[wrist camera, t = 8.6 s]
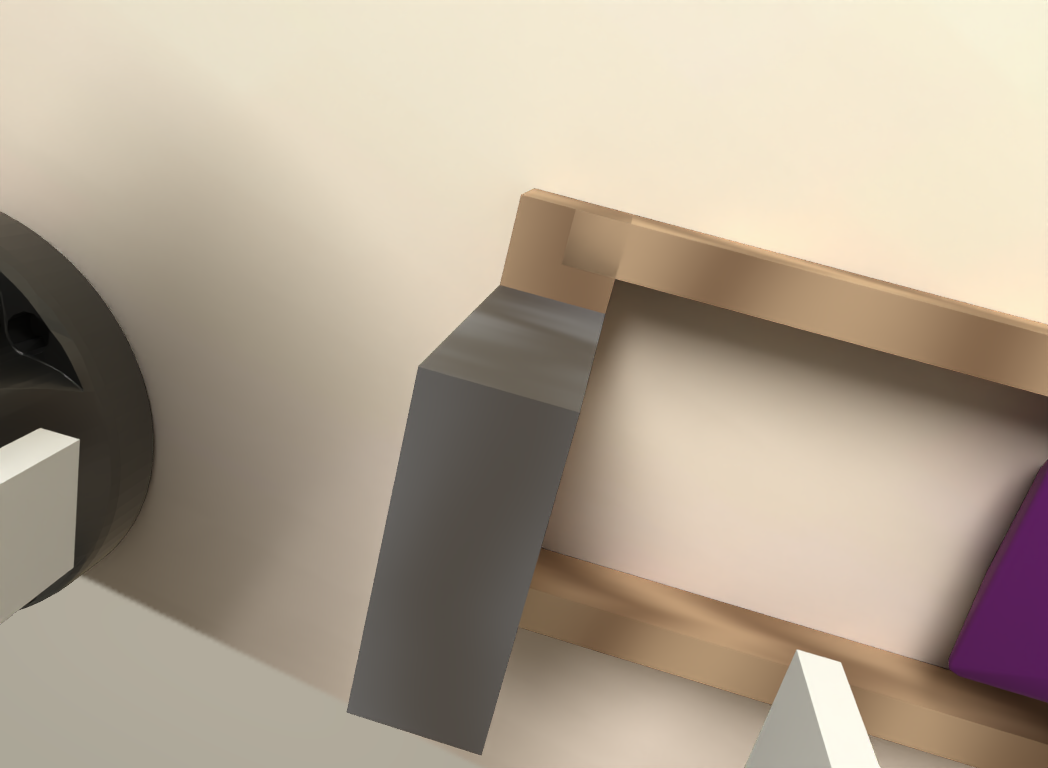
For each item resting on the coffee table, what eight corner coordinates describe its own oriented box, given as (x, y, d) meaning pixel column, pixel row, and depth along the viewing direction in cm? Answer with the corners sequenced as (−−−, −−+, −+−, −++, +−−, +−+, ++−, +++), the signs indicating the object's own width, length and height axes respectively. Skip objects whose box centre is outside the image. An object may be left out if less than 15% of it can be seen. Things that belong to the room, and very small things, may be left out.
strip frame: (445, 558, 27) (328, 798, 18) (534, 188, 23) (446, 229, 13) (1156, 773, 26) (1471, 1174, 16) (1396, 417, 21) (2035, 661, 12)
